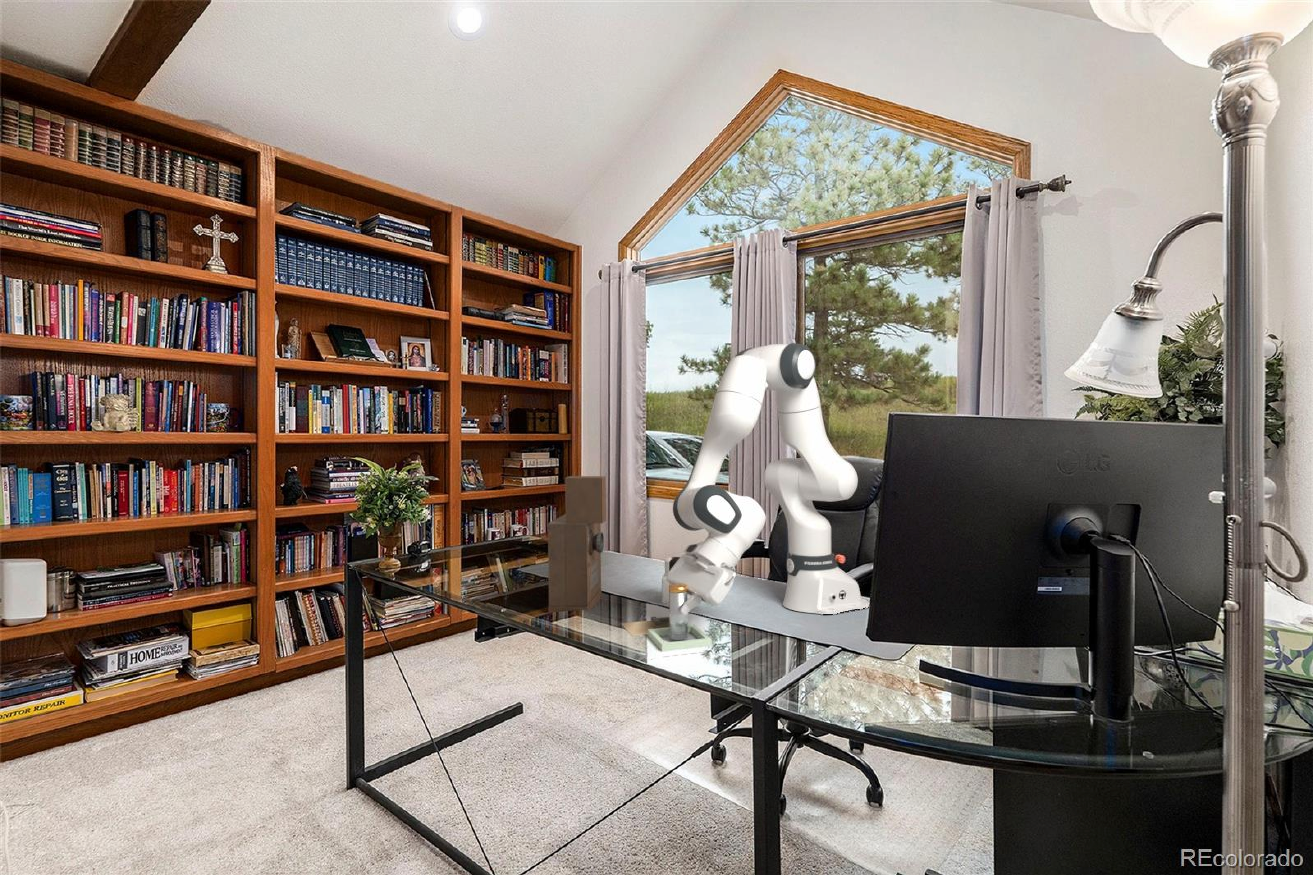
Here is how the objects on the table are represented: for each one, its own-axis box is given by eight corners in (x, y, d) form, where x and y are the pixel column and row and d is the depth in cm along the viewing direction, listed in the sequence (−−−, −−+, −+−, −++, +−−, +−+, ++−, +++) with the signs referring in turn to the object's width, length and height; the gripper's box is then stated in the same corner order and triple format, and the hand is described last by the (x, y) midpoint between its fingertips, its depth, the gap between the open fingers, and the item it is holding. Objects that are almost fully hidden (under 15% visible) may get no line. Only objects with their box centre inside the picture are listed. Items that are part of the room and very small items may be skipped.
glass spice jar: (684, 633, 146) (683, 582, 146) (690, 638, 142) (689, 586, 142) (667, 635, 145) (666, 584, 144) (672, 640, 141) (672, 588, 141)
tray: (694, 636, 150) (694, 624, 150) (711, 651, 140) (711, 639, 140) (647, 641, 147) (647, 629, 147) (662, 657, 136) (662, 644, 136)
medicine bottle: (689, 598, 184) (689, 555, 183) (688, 605, 177) (688, 560, 176) (664, 598, 184) (663, 555, 184) (662, 605, 177) (661, 560, 177)
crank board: (673, 623, 160) (673, 611, 160) (686, 635, 151) (686, 622, 151) (621, 628, 157) (620, 615, 156) (631, 641, 147) (631, 627, 147)
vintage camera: (603, 614, 168) (601, 477, 168) (548, 613, 170) (546, 478, 169) (615, 596, 187) (613, 472, 187) (566, 595, 189) (564, 473, 188)
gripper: (748, 578, 139) (708, 631, 135) (701, 561, 157) (664, 607, 153) (730, 559, 137) (689, 612, 133) (684, 544, 155) (647, 590, 151)
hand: (675, 609), depth 143 cm, fingers closed on glass spice jar, 4 cm apart
